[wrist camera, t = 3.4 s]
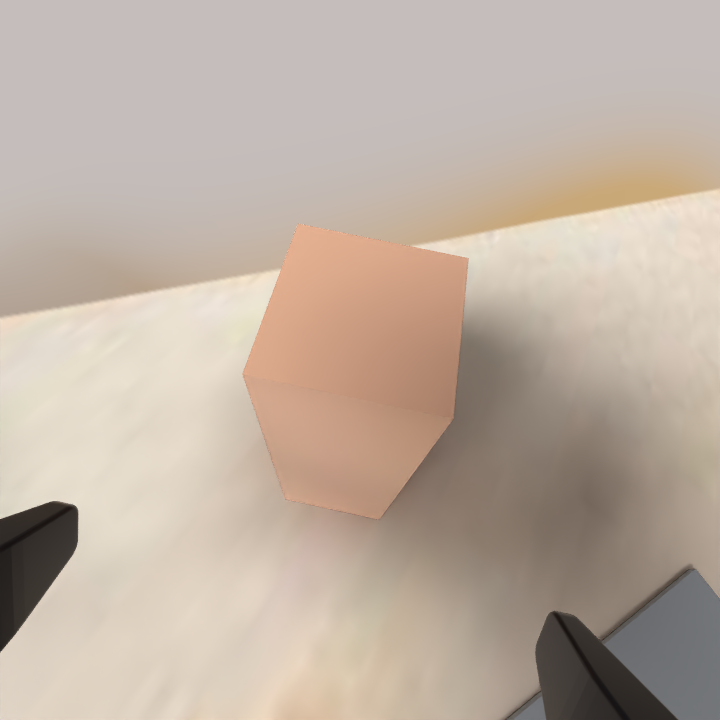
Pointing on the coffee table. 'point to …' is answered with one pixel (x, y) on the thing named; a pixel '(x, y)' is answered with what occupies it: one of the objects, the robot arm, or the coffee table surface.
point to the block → (356, 366)
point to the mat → (669, 650)
